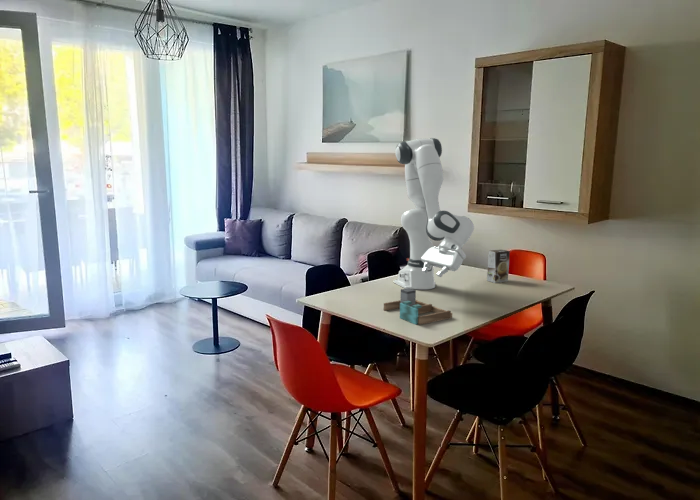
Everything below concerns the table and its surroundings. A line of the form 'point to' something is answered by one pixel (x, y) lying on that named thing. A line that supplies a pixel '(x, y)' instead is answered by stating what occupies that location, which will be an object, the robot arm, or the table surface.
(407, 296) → the tall grey block
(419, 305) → the frame
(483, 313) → the table surface
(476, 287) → the table surface
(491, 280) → the coffee box
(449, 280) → the table surface
